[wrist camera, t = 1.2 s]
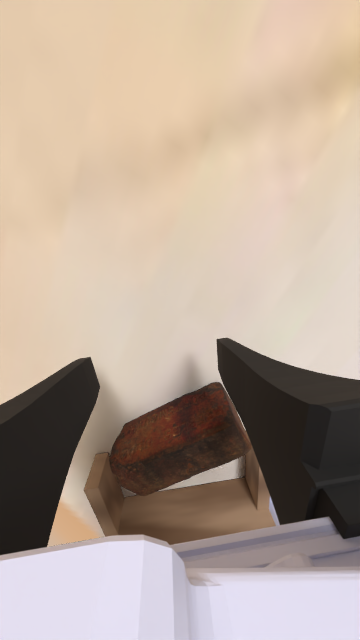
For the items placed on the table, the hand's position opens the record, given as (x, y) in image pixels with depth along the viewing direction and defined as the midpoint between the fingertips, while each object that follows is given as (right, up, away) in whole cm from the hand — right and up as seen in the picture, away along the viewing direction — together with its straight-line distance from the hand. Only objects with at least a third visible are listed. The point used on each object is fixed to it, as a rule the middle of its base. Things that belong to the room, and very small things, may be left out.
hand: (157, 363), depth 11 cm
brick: (+1, -7, +8) cm, 10 cm away
